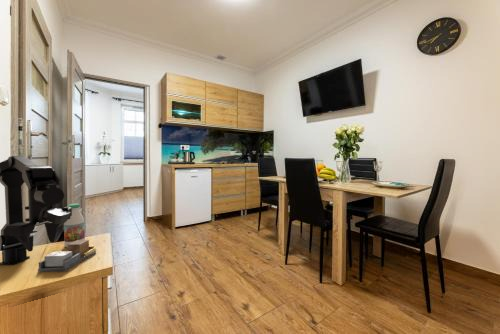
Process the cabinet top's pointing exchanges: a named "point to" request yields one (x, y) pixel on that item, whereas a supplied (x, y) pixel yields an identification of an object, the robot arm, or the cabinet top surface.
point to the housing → (79, 247)
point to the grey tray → (67, 262)
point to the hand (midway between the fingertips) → (41, 246)
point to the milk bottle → (74, 226)
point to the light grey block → (57, 258)
